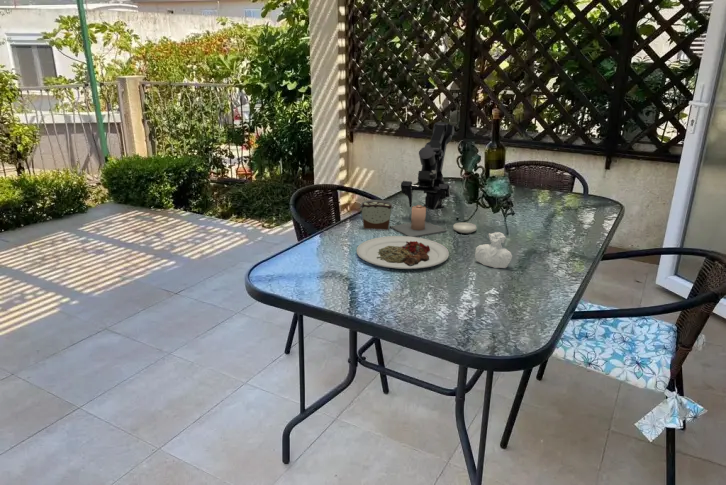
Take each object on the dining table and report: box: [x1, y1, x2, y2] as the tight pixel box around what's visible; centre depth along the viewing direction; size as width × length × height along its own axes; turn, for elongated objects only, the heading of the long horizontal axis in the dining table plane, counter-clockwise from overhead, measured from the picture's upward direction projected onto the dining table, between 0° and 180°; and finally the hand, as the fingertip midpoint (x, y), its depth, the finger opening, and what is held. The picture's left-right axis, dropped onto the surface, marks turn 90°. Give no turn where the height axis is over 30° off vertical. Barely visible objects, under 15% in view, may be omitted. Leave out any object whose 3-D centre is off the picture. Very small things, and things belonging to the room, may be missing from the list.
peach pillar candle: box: [410, 204, 427, 230], centre depth 197 cm, size 5×5×9 cm
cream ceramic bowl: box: [452, 221, 477, 234], centre depth 198 cm, size 8×8×2 cm
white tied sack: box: [474, 231, 513, 269], centre depth 166 cm, size 12×8×11 cm
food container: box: [359, 199, 394, 231], centre depth 200 cm, size 12×6×10 cm, turn 84°
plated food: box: [356, 235, 450, 270], centre depth 173 cm, size 30×30×3 cm
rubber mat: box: [389, 220, 447, 238], centre depth 199 cm, size 16×14×1 cm
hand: (422, 207), depth 204 cm, fingers open, 9 cm apart
